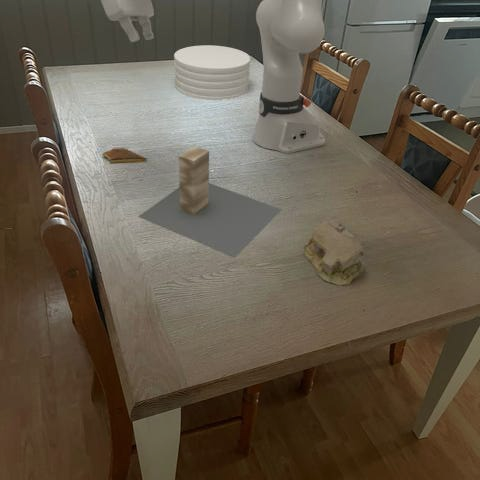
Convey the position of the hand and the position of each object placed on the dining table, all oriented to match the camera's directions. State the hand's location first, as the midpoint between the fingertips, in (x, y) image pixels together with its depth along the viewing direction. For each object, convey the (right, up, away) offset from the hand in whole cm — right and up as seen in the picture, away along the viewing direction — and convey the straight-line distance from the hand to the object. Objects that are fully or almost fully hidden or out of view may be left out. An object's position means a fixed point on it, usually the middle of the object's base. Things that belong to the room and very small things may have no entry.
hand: (143, 40), depth 102 cm
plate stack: (+10, +15, +77) cm, 79 cm away
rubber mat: (+14, -38, +8) cm, 41 cm away
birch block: (+10, -36, +10) cm, 38 cm away
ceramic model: (+41, -49, -3) cm, 64 cm away
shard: (-11, -21, +29) cm, 37 cm away
